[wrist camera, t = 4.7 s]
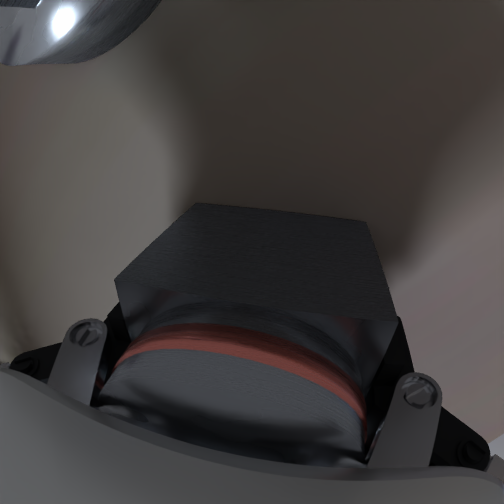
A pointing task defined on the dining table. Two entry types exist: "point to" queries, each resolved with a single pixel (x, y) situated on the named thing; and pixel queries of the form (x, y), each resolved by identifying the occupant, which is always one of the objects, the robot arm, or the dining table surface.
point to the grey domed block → (254, 335)
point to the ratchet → (66, 28)
